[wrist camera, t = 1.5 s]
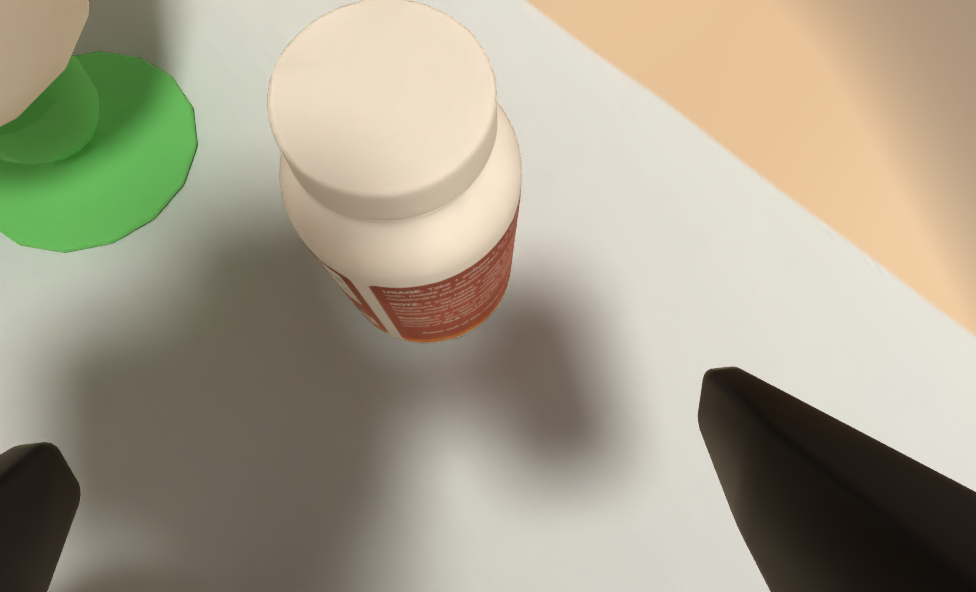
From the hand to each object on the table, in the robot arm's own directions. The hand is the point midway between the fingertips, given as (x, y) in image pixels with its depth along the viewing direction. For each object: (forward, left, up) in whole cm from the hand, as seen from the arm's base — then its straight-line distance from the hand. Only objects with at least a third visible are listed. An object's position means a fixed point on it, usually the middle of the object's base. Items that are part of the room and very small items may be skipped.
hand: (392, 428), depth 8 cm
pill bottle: (+6, -3, -13) cm, 15 cm away
